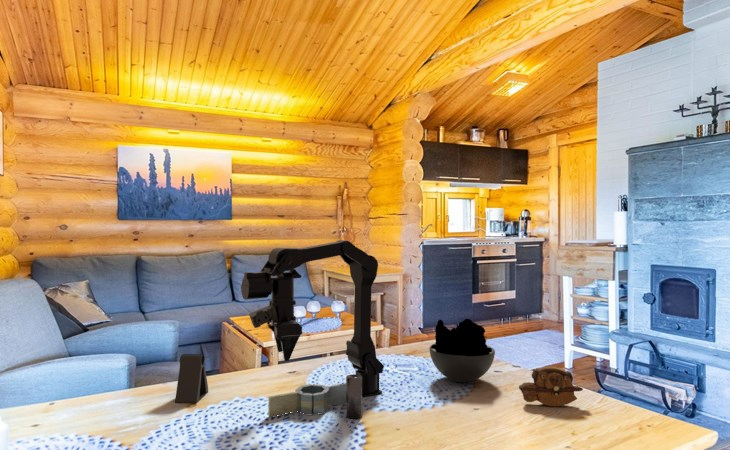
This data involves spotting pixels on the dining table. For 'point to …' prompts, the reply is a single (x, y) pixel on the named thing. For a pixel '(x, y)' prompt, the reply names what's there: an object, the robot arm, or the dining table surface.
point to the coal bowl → (461, 351)
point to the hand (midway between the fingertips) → (283, 356)
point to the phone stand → (191, 379)
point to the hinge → (307, 399)
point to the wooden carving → (550, 387)
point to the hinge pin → (353, 397)
